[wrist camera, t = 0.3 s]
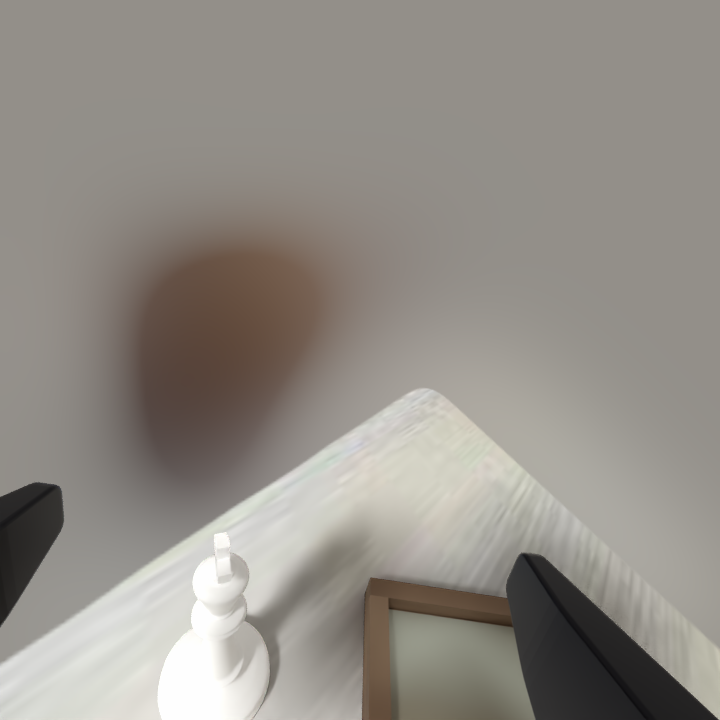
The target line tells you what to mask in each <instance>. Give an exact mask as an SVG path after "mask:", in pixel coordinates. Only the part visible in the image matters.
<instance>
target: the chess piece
mask: <svg viewBox="0 0 720 720" xmlns="http://www.w3.org/2000/svg"><path fill="white" fill-rule="evenodd" d="M214 548H215V554H214V555H211V556H209V557H208V558H206V559H205V560H204V561H203V562H202V563H201V564H200V565H199V566H198V568H197V569H196V571H195V573H194V576H193V589H194V592H195V595H196V596H197V598H198V600H197V601H196V603H195V605H194V607H193V610H192V614H191V622H192V626H193V628H191V629H190V630H189V631H188V632H186V633H185V634H184V635H183V636H182V637H181V638H180V639H179V640H178V642H177V643H176V644H175V645H174V647H173V648H172V650H171V651H170V653H169V655H168V657H167V659H166V661H165V663H164V666H163V669H162V673H161V677H160V681H159V687H158V705H159V710H160V714H161V717H162V719H163V720H251V719H252V718H253V717H254V716H255V714H256V713H257V711H258V710H259V708H260V706H261V704H262V702H263V700H264V698H265V695H266V692H267V688H268V684H269V678H270V662H269V655H268V650H267V647H266V644H265V642H264V640H263V638H262V636H261V635H260V633H259V632H258V631H257V630H256V629H255V628H254V627H253V626H252V625H251V624H249V623H248V622H246V621H245V618H246V615H247V603H246V600H245V598H244V596H243V594H242V593H243V592H244V590H245V589H246V586H247V584H248V580H249V569H248V566H247V564H246V562H245V561H244V560H243V559H242V558H241V557H240V556H238V555H236V554H234V553H230V541H229V536H227V533H226V532H225V533H220V534H214Z"/></svg>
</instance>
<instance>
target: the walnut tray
mask: <svg viewBox="0 0 720 720" xmlns="http://www.w3.org/2000/svg"><path fill="white" fill-rule="evenodd" d="M362 720H535V717H534V713H533V710H532V706H531V703H530V699H529V696H528V693H527V689H526V685H525V682H524V678H523V674H522V669H521V665H520V660H519V655H518V650H517V644H516V639H515V634H514V629H513V624H512V619H511V614H510V608H509V603H508V598H502V597H495V596H489V595H482V594H476V593H469V592H462V591H456V590H449V589H443V588H436V587H430V586H423V585H416V584H410V583H403V582H397V581H390V580H384V579H377V578H370V581H369V583H368V586H367V589H366V592H365V612H364V655H363V698H362Z"/></svg>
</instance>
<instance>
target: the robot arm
mask: <svg viewBox="0 0 720 720" xmlns="http://www.w3.org/2000/svg"><path fill="white" fill-rule="evenodd" d="M63 523H64V511H63V499H62V491H61V488H60V487H59V486H57V485H54V484H47V483H40V482H38V483H37V482H36V483H32V484H29V485H27V486H25V487H22V488H20V489H18V490H15V491H13V492H11V493H9V494H6V495H4V496H1V497H0V627H1V625H2V624H3V623H4V621H5V620H6V618H7V617H8V616H9V614H10V613H11V611H12V609H13V608H14V606H15V605H16V603H17V602H18V600H19V599H20V597H21V595H22V594H23V592H24V590H25V589H26V587H27V586H28V584H29V582H30V580H31V579H32V577H33V576H34V574H35V572H36V571H37V569H38V568H39V566H40V564H41V563H42V561H43V559H44V558H45V556H46V555H47V553H48V551H49V550H50V548H51V546H52V545H53V543H54V541H55V540H56V538H57V537H58V535H59V533H60V532H61V529H62V527H63ZM506 592H507V598H508V603H509V608H510V614H511V619H512V624H513V629H514V634H515V639H516V644H517V650H518V655H519V660H520V665H521V669H522V674H523V678H524V682H525V685H526V689H527V693H528V696H529V699H530V703H531V706H532V710H533V713H534V717H535V720H719V719H717V718H716V717H715V716H714V715H713V714H712V713H711V712H710V711H709V710H708V709H707V708H706V707H705V706H703V705H702V704H701V703H700V702H699V701H698V700H697V699H696V698H695V697H694V696H693V695H692V694H691V693H689V692H688V691H687V690H686V689H685V688H684V687H683V686H682V685H681V684H680V683H679V682H678V681H677V680H676V679H674V678H673V677H672V676H671V675H670V674H669V673H668V672H667V671H666V670H665V669H664V668H663V667H662V666H660V665H659V664H658V663H657V662H656V661H655V660H654V659H653V658H652V657H651V656H650V655H649V654H648V653H646V652H645V651H644V650H643V649H642V648H641V647H640V646H639V645H638V644H637V643H636V642H635V641H634V640H632V639H631V638H630V637H629V636H628V635H627V634H626V633H625V632H624V631H623V630H622V629H621V628H620V627H619V626H617V625H616V624H615V623H614V622H613V621H612V620H611V619H610V618H609V617H608V616H607V615H606V614H605V613H603V612H602V611H601V610H600V609H599V608H598V607H597V606H596V605H595V604H594V603H593V602H592V601H591V600H589V599H588V598H587V597H586V596H585V595H584V594H583V593H582V592H581V591H580V590H579V589H578V588H577V587H576V586H574V585H573V584H572V583H571V582H570V581H569V580H568V579H567V578H566V577H565V576H564V575H563V574H562V573H560V572H559V571H558V570H557V569H556V568H555V567H554V566H553V565H552V564H551V563H550V562H549V561H548V560H546V559H545V558H544V557H543V556H541V555H538V554H532V553H521V554H520V555H519V556H518V557H517V560H516V562H515V564H514V566H513V569H512V571H511V573H510V575H509V577H508V580H507V584H506Z"/></svg>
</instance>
